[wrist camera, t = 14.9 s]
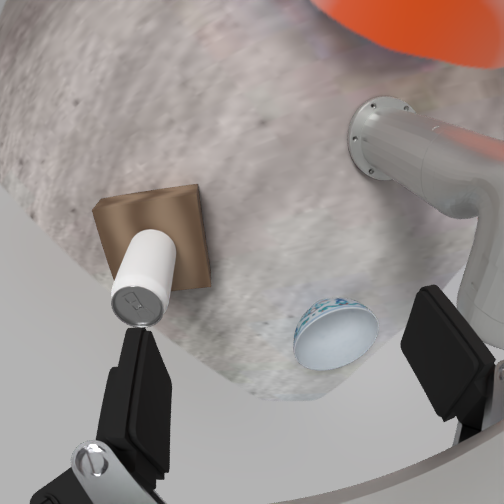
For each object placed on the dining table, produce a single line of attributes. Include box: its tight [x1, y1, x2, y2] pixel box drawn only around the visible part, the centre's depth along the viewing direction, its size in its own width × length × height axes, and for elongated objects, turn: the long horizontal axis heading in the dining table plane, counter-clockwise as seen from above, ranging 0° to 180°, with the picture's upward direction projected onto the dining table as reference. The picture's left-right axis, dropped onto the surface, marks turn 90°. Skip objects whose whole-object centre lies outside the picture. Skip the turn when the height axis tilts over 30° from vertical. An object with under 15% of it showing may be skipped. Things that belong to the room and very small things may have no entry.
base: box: [92, 184, 211, 291], centre depth 42 cm, size 14×14×4 cm
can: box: [111, 229, 176, 328], centre depth 35 cm, size 6×6×12 cm
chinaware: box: [294, 298, 379, 371], centre depth 52 cm, size 15×15×8 cm
